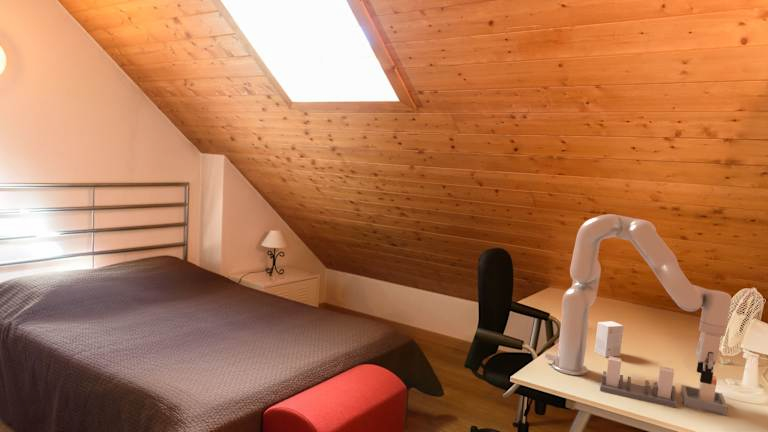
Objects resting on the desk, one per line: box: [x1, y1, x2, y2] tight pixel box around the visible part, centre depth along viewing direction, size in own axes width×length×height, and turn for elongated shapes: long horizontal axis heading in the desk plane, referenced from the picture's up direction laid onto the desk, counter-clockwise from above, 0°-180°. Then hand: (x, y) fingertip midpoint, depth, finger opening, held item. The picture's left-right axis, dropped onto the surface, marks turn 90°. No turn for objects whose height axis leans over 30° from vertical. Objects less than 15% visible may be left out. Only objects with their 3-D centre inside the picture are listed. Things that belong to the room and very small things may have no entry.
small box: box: [594, 320, 624, 358], centre depth 223 cm, size 8×6×13 cm
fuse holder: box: [599, 356, 677, 408], centre depth 184 cm, size 23×10×10 cm, turn 65°
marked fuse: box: [698, 375, 718, 403], centre depth 180 cm, size 4×4×9 cm
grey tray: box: [680, 384, 728, 416], centre depth 180 cm, size 12×12×3 cm
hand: (703, 377), depth 180 cm, fingers open, 9 cm apart
